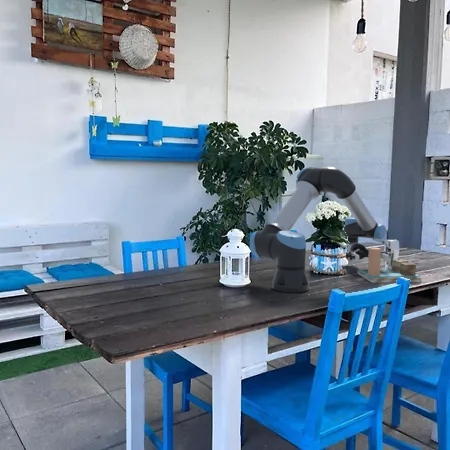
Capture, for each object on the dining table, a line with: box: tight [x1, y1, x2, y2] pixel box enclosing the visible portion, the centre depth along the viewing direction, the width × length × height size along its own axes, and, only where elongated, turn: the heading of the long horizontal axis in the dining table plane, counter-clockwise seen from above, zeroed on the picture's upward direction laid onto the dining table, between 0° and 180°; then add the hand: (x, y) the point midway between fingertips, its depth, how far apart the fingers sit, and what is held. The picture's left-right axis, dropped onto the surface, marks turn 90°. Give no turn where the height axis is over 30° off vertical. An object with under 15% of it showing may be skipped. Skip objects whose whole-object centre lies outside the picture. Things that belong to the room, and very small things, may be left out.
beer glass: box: [383, 239, 400, 269], centre depth 231 cm, size 7×7×15 cm
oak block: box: [392, 258, 409, 272], centre depth 220 cm, size 5×5×5 cm
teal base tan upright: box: [366, 247, 421, 279], centre depth 210 cm, size 22×7×13 cm, turn 93°
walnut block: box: [400, 262, 417, 276], centre depth 211 cm, size 5×5×5 cm
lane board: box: [357, 268, 422, 284], centre depth 216 cm, size 22×19×2 cm
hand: (373, 258), depth 213 cm, fingers open, 13 cm apart
